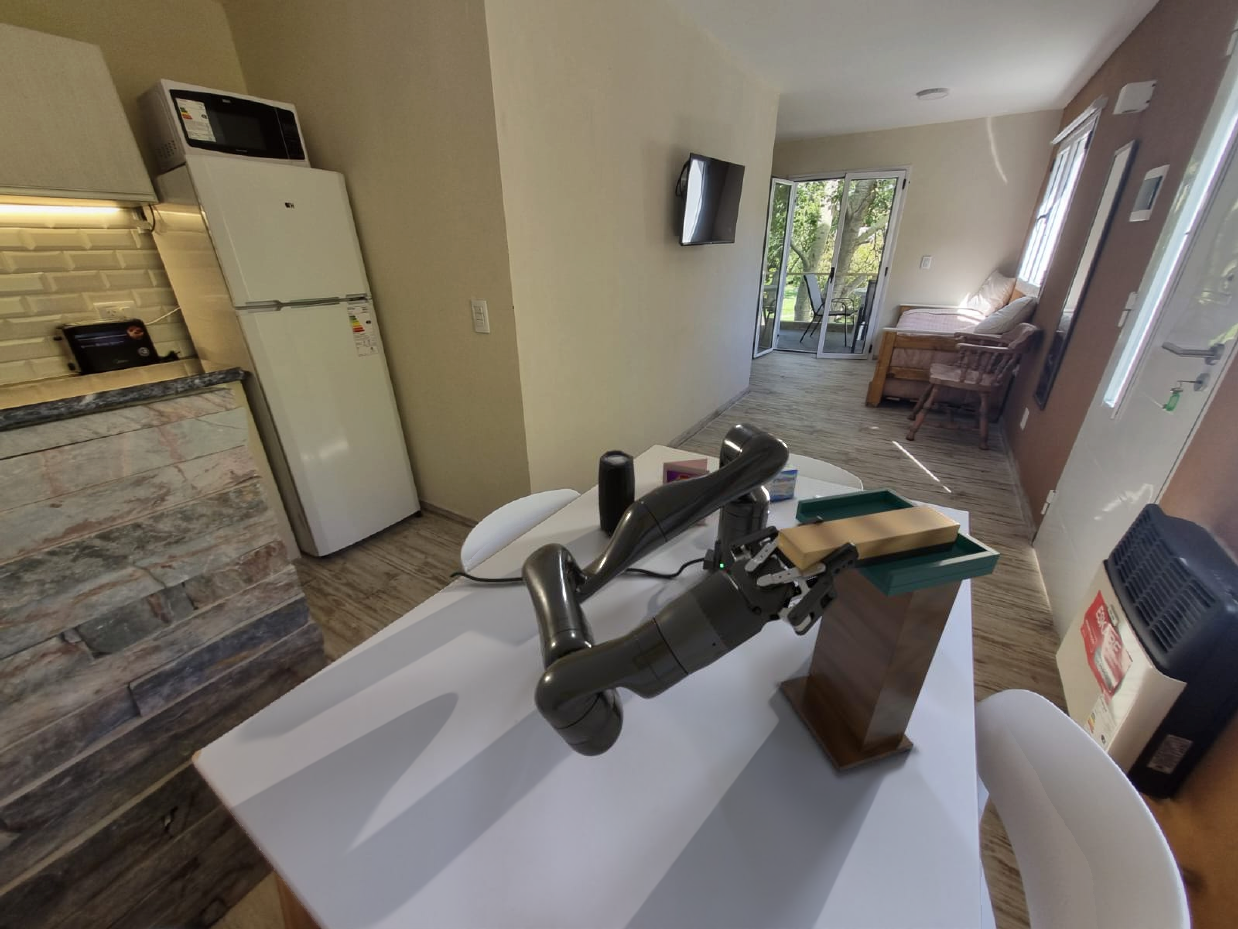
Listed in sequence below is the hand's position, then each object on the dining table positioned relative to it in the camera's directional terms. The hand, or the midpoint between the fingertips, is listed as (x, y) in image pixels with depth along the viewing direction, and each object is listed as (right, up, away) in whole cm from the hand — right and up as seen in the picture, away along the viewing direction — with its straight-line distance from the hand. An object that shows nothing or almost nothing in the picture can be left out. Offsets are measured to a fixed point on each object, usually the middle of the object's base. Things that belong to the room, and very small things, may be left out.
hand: (837, 535), depth 52 cm
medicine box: (+20, -1, +81) cm, 83 cm away
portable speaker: (-24, -8, +65) cm, 70 cm away
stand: (+8, -30, +19) cm, 36 cm away
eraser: (+4, -2, +2) cm, 5 cm away
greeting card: (-7, -5, +72) cm, 72 cm away
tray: (+8, -2, +6) cm, 10 cm away
